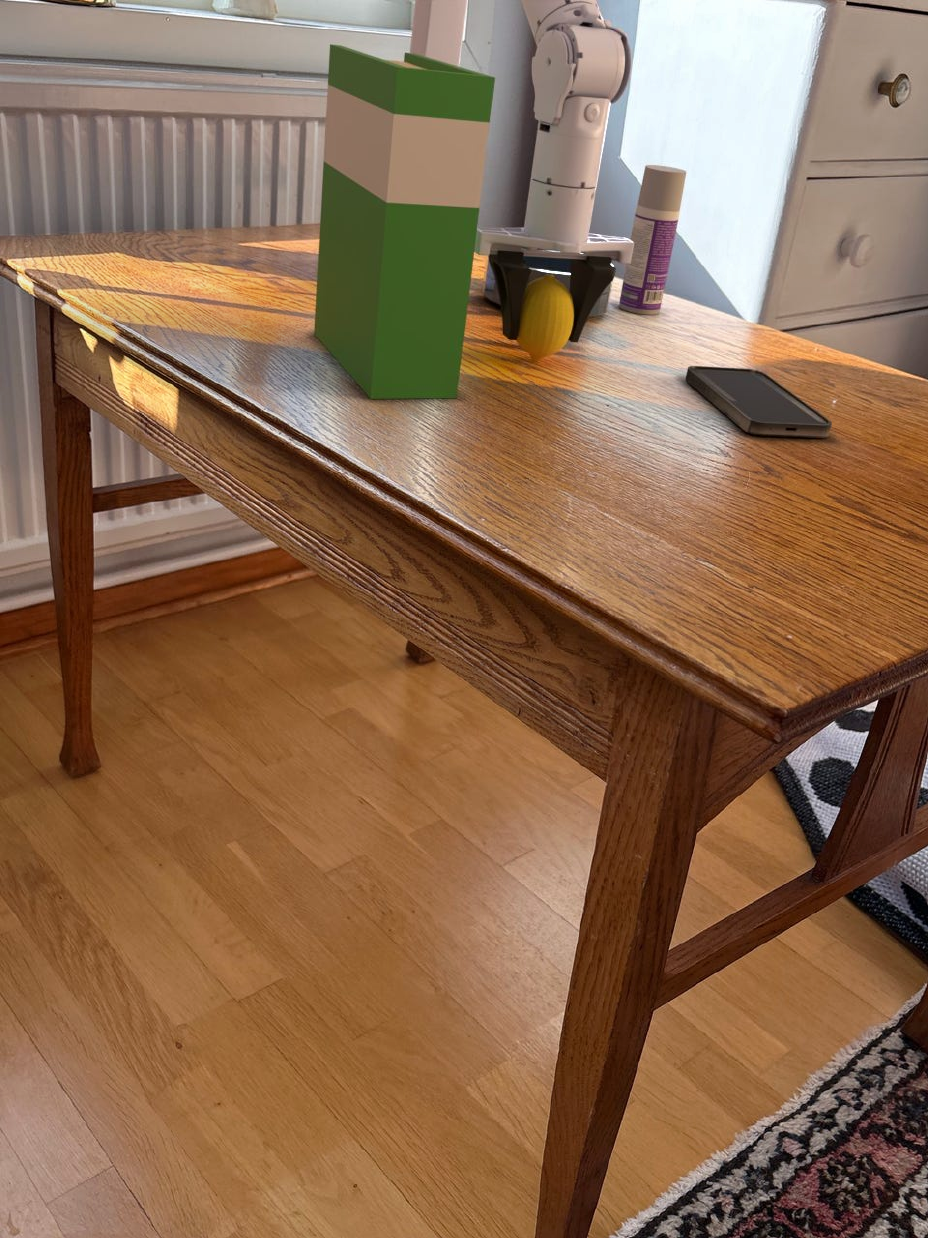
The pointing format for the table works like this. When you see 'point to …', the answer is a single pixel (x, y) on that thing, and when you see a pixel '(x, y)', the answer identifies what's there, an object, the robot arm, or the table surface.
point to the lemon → (545, 317)
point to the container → (652, 239)
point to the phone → (758, 402)
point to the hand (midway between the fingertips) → (539, 338)
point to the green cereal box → (400, 219)
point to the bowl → (539, 270)
